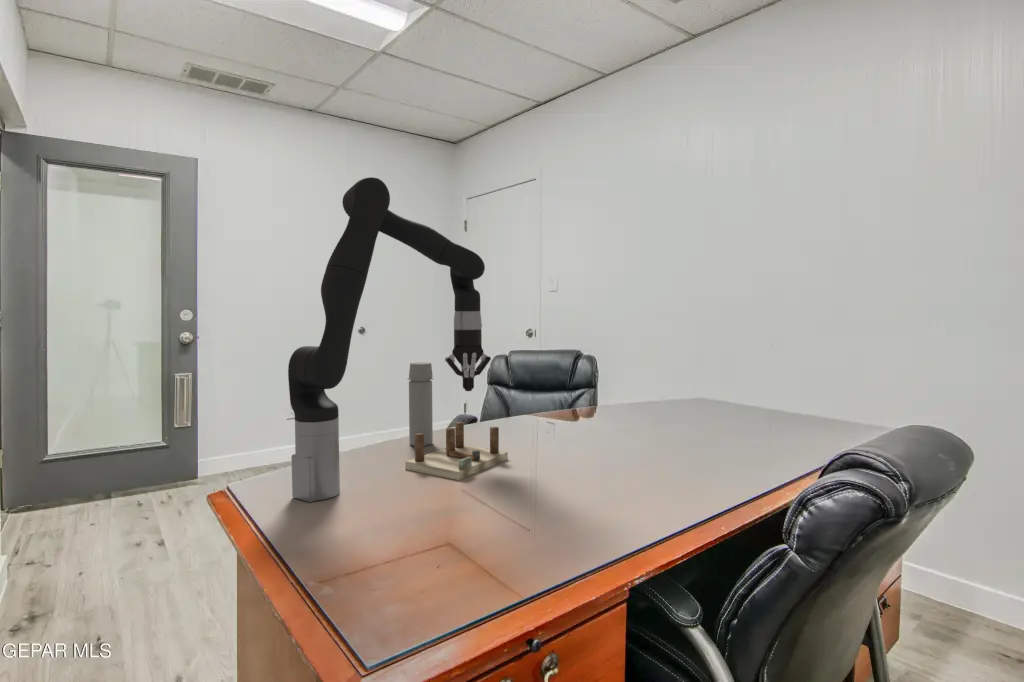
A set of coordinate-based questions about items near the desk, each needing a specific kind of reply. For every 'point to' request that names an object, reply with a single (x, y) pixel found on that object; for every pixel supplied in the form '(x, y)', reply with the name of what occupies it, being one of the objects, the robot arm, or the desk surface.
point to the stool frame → (453, 465)
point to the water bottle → (420, 402)
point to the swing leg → (458, 453)
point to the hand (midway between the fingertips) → (468, 390)
